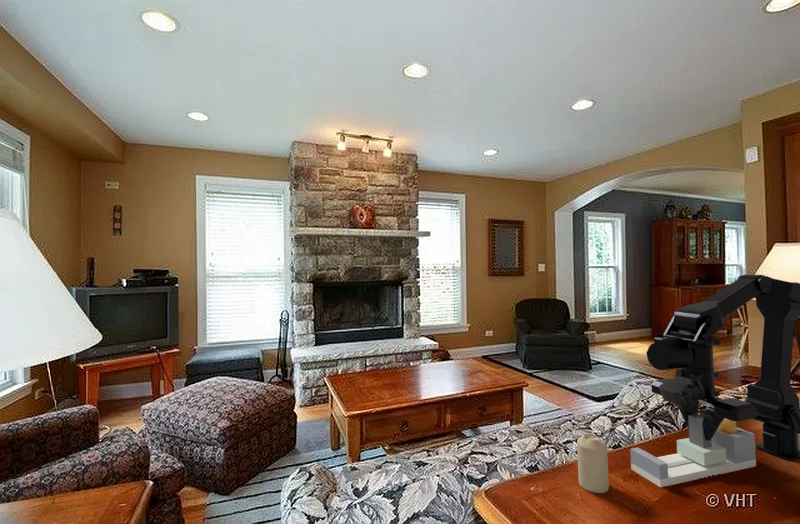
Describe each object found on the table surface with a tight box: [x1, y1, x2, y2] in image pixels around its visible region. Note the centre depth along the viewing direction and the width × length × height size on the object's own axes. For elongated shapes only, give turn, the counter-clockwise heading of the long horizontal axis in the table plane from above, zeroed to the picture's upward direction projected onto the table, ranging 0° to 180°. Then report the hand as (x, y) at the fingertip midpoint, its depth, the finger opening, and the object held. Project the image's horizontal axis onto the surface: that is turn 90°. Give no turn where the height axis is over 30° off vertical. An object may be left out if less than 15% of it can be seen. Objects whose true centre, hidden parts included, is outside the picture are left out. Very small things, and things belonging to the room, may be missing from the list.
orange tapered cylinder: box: [717, 418, 738, 434], centre depth 84 cm, size 3×3×6 cm
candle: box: [576, 433, 610, 494], centre depth 76 cm, size 6×6×10 cm
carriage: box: [676, 413, 726, 466], centre depth 82 cm, size 6×6×9 cm
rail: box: [629, 427, 757, 488], centre depth 81 cm, size 26×7×7 cm, turn 104°
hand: (700, 436), depth 82 cm, fingers closed on carriage, 3 cm apart
